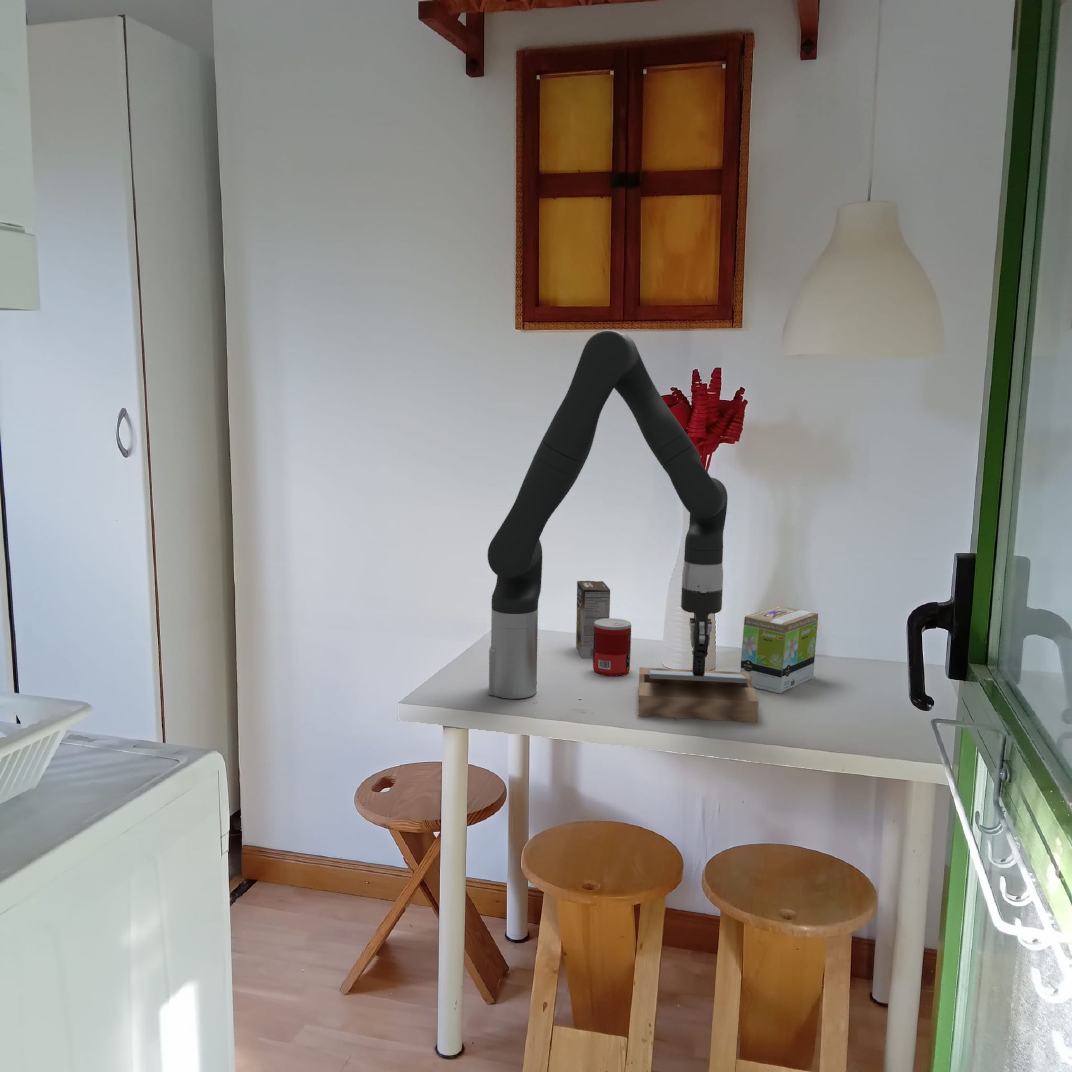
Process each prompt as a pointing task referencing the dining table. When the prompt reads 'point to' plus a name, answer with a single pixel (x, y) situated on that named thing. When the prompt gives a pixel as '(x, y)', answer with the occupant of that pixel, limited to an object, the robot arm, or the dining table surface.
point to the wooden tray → (696, 698)
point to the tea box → (779, 647)
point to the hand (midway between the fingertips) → (698, 674)
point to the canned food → (611, 647)
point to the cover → (689, 676)
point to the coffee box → (590, 613)
